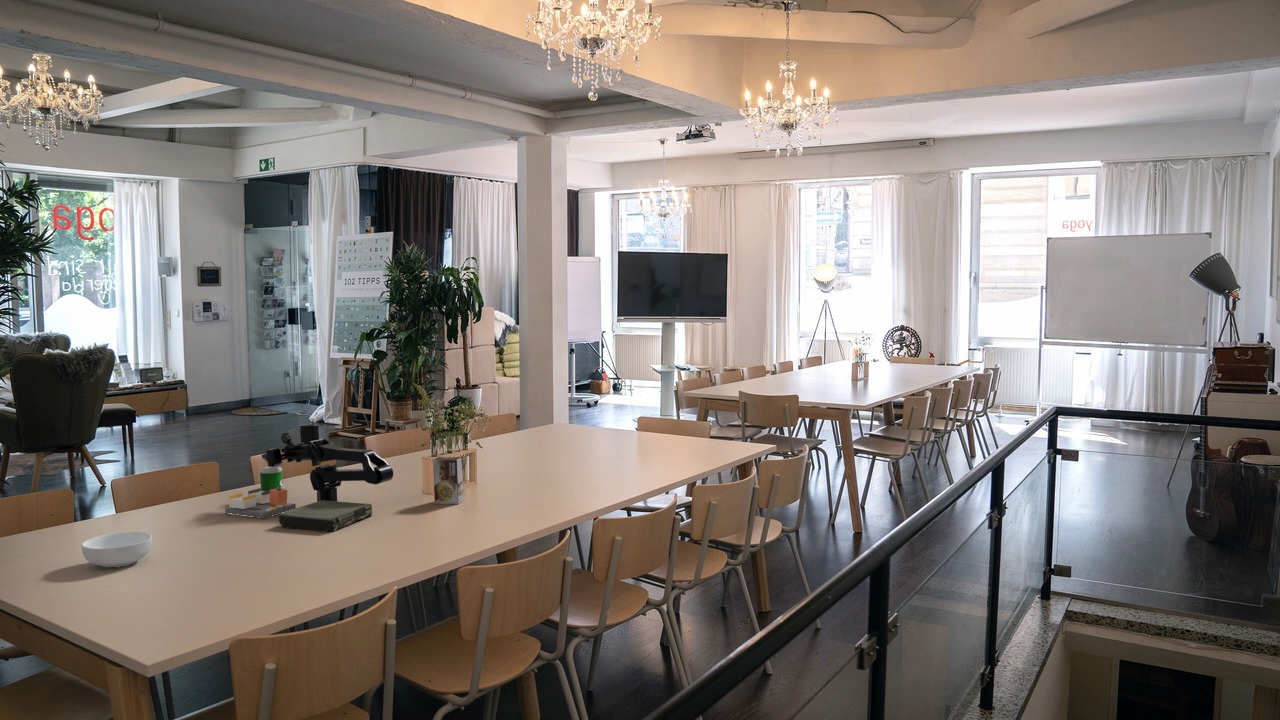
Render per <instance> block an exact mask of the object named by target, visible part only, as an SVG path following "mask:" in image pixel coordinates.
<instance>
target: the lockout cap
mask: <svg viewBox="0 0 1280 720" xmlns="http://www.w3.org/2000/svg"><path fill="white" fill-rule="evenodd" d="M287 503H288V489H285V488H283V489H282V488H276V489H272V490H270V501H269V504H271V505H275V506H277V505H284V504H287Z"/></svg>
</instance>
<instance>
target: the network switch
mask: <svg viewBox="0 0 1280 720" xmlns="http://www.w3.org/2000/svg"><path fill="white" fill-rule="evenodd" d="M372 509H373V507H372V504H371V503H361V502H351V501H350V502H347V501H338V500H337V501H325V500H323V501H317V500H316V501H315V502H311V503H308V504H305V505H302V506H299V507H297V508H296V509H293V510H290V511H287V512H284V513H282V514H279V515H278V522H279V524H280V525H281V526H282V527H283V528H285V527H289V528H288V529H295V528H299V529H298V530H306V529H308V530H307V531H314V530H316V531H315V532H323V531H326V532H325V533H334V532H336V530H338V529H342V528H343V527H346V526H349V525H352V524H353V523H356V522H358V521H360V520H363V519H365V518H368V517H372V516H373V515H372V514H373V510H372ZM333 531H334V532H333Z"/></svg>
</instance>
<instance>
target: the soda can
mask: <svg viewBox="0 0 1280 720" xmlns="http://www.w3.org/2000/svg"><path fill="white" fill-rule="evenodd" d="M280 466H281V465H278V466H275V467H269V466H268V465H266V466H265V465H264V466H263V467H261V469H260V470H259V475H260V476H259V477H260V488H261V491H269V490H272V489H276V488H282V489H284V484H283V483H284V481H283V479H284V478H283V468H282V467H280Z"/></svg>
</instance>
